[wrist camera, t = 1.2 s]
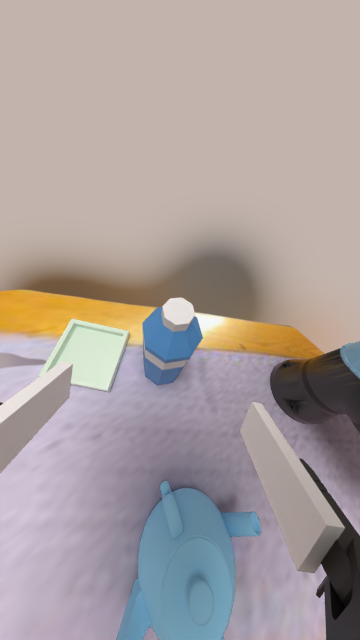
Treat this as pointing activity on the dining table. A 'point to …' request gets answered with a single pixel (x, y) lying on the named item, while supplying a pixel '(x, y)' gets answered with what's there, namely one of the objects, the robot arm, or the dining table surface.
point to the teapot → (185, 568)
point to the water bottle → (169, 340)
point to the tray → (90, 353)
